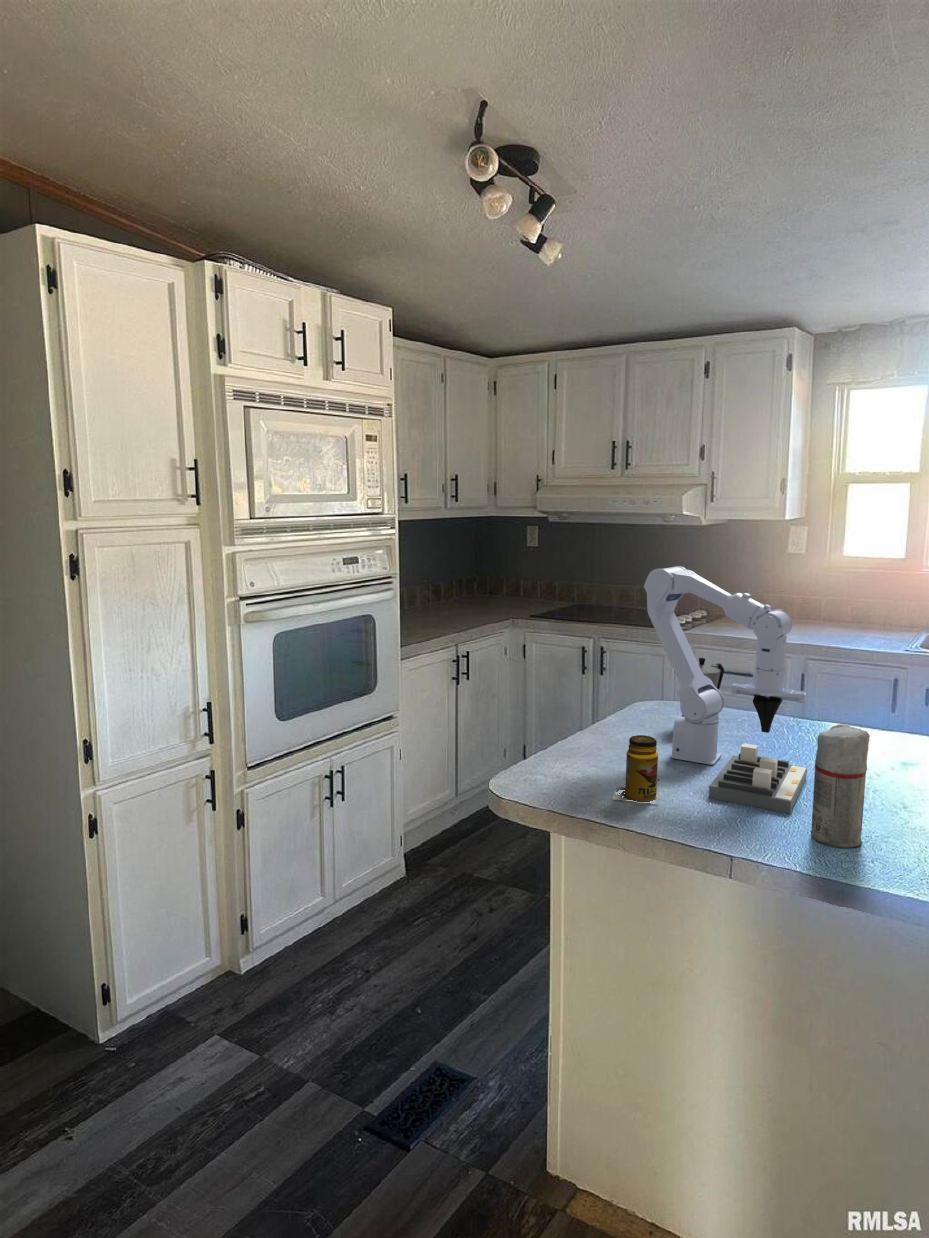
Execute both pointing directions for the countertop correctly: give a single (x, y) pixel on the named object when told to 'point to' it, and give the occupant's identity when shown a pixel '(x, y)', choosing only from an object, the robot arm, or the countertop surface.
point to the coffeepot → (712, 672)
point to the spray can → (840, 786)
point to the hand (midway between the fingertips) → (765, 731)
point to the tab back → (749, 752)
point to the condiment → (640, 771)
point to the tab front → (762, 778)
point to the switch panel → (739, 789)
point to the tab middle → (769, 765)
